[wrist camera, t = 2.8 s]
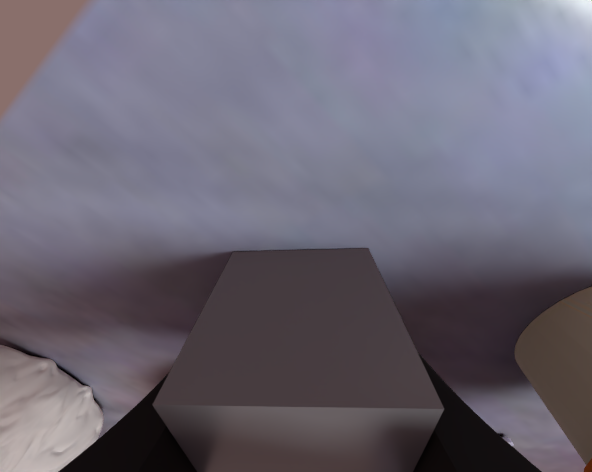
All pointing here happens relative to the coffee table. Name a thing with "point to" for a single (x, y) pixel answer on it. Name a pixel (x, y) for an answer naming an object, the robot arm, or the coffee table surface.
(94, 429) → the bust
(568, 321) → the reusable coffee cup
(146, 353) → the coffee table surface
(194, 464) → the grey matte cube
